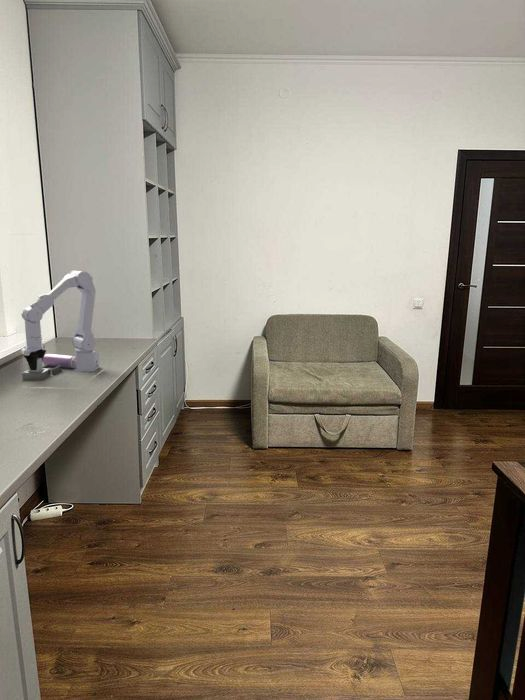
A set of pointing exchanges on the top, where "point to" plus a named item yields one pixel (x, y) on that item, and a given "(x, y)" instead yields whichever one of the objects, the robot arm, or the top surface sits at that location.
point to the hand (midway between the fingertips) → (36, 368)
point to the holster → (54, 369)
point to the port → (36, 374)
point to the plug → (39, 366)
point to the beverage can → (59, 361)
